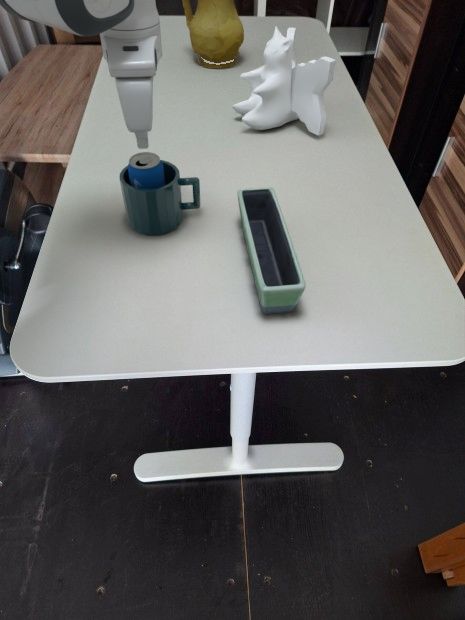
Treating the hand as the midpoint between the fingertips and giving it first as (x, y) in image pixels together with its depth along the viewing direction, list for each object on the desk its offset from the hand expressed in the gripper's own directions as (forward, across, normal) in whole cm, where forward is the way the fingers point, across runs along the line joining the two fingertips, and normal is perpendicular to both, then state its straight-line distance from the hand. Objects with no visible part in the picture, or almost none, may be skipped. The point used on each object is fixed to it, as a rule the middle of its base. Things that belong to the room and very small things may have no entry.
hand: (142, 133), depth 77 cm
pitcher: (+18, -85, +24) cm, 90 cm away
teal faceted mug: (+18, 0, +2) cm, 18 cm away
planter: (+18, +16, +20) cm, 31 cm away
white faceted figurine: (+18, -39, +34) cm, 54 cm away
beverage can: (+18, -1, 0) cm, 18 cm away
